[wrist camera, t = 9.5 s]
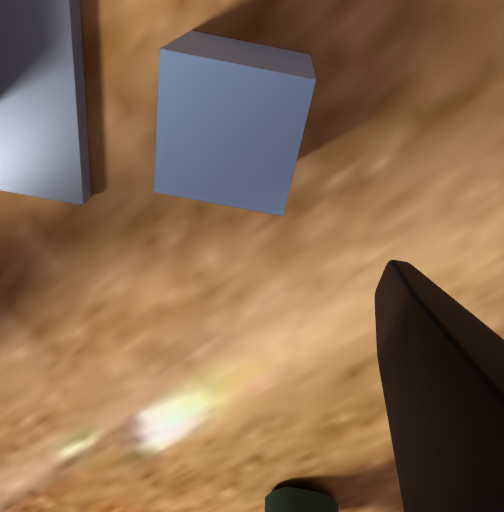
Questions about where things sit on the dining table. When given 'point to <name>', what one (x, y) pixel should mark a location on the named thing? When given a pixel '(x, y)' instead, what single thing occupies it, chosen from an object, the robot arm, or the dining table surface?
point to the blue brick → (230, 120)
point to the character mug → (299, 501)
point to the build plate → (43, 101)
